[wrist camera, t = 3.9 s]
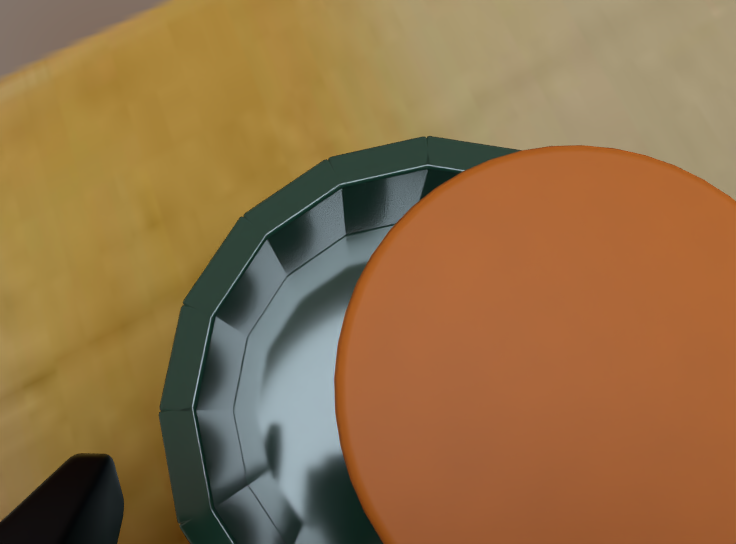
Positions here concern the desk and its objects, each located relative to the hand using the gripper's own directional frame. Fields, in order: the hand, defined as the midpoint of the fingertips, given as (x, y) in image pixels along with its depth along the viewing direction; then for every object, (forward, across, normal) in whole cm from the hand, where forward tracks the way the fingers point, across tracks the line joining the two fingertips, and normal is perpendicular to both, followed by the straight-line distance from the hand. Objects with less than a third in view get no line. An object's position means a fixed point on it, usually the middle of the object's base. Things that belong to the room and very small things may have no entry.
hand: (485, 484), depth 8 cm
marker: (+7, 0, +5) cm, 8 cm away
